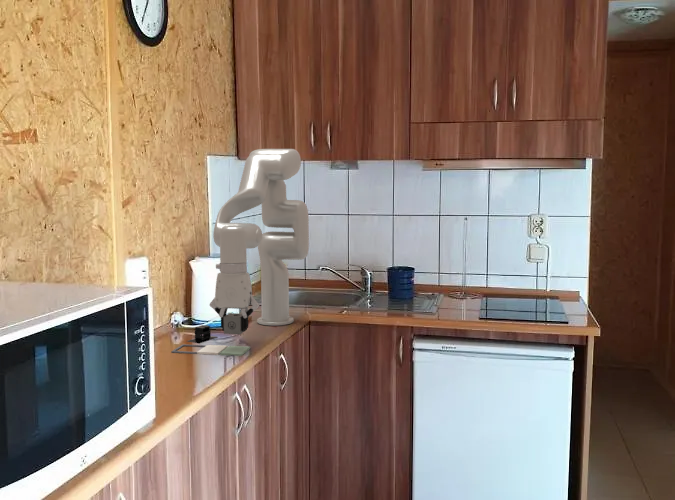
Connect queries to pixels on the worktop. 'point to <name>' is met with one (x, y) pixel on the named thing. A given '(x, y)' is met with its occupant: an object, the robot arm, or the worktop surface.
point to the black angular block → (202, 338)
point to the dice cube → (232, 323)
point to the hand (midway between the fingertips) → (234, 329)
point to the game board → (216, 350)
